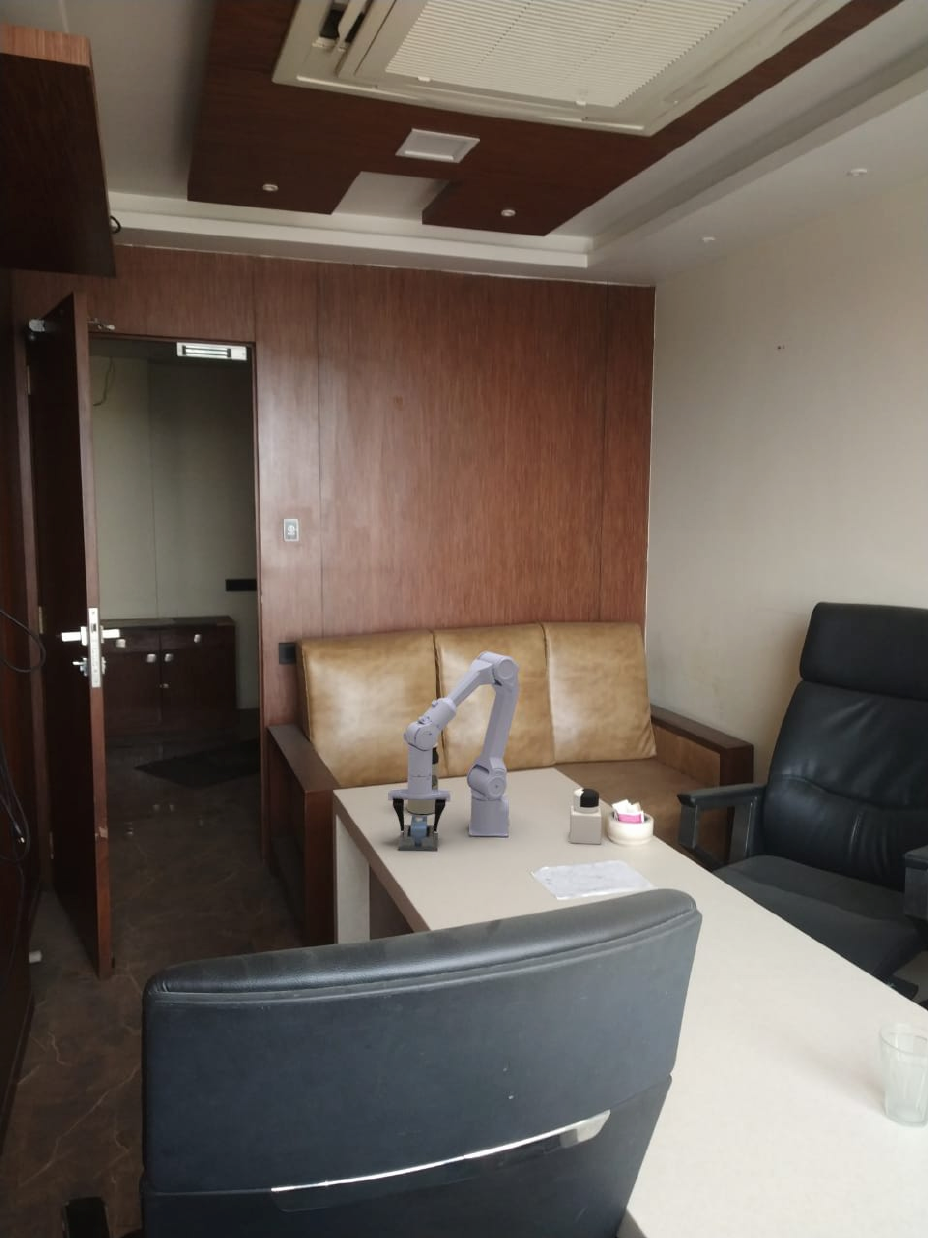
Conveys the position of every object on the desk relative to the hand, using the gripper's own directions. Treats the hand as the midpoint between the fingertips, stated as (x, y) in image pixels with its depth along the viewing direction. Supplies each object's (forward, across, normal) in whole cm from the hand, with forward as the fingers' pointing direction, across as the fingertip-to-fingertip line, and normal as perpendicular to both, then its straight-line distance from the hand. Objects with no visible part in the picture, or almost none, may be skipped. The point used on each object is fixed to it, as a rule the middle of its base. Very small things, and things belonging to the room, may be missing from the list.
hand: (418, 830), depth 206 cm
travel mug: (+3, 0, -24) cm, 24 cm away
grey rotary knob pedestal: (+3, -40, -5) cm, 40 cm away
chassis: (+3, 0, 0) cm, 3 cm away
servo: (+2, 0, 0) cm, 2 cm away
